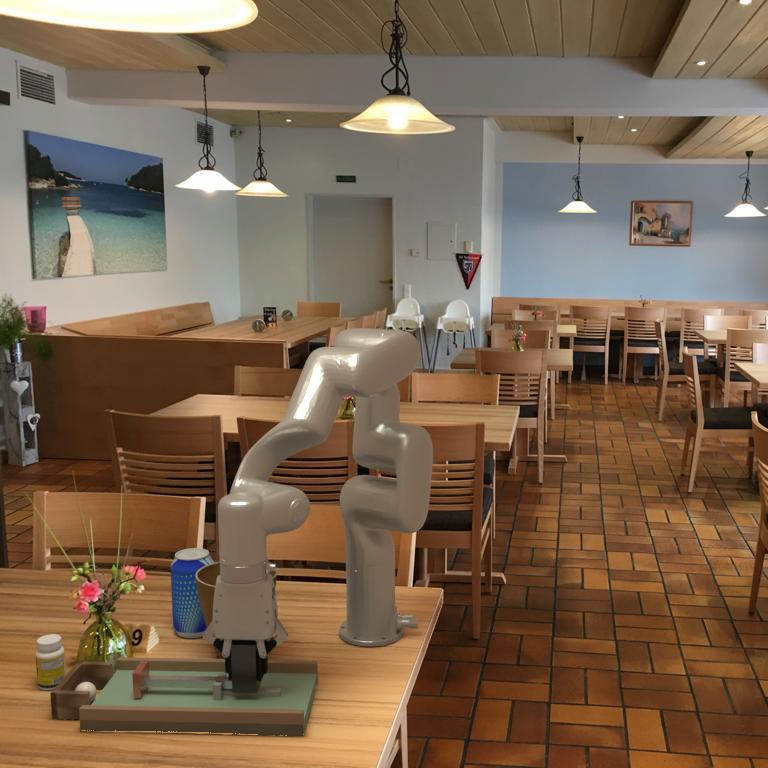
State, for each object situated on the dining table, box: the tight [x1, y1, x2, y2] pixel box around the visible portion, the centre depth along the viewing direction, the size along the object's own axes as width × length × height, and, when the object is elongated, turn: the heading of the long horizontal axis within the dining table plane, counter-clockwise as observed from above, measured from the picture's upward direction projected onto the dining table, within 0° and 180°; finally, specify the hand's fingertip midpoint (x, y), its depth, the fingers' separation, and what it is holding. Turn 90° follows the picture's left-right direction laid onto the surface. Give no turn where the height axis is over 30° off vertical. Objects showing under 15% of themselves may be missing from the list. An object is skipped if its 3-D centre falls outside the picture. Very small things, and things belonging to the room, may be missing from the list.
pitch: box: [79, 656, 319, 737], centre depth 145 cm, size 35×18×5 cm, turn 87°
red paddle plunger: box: [132, 640, 261, 698], centre depth 144 cm, size 20×5×9 cm, turn 87°
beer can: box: [170, 547, 215, 639], centre depth 173 cm, size 8×8×16 cm
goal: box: [50, 661, 114, 721], centre depth 146 cm, size 6×11×4 cm, turn 177°
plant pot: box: [195, 561, 278, 659], centre depth 163 cm, size 15×15×16 cm
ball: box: [75, 682, 97, 703], centre depth 146 cm, size 4×4×4 cm
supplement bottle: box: [34, 633, 67, 691], centre depth 152 cm, size 5×5×8 cm
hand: (246, 676), depth 144 cm, fingers closed on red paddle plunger, 4 cm apart
